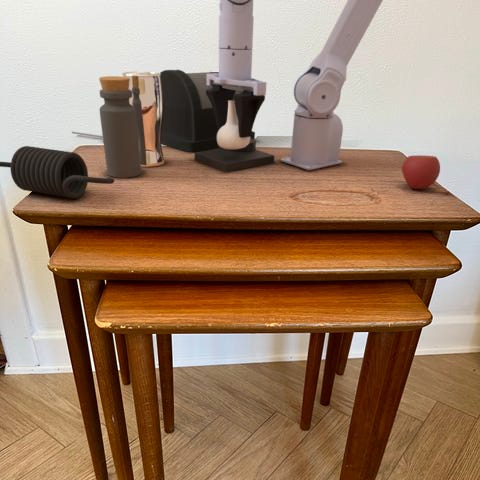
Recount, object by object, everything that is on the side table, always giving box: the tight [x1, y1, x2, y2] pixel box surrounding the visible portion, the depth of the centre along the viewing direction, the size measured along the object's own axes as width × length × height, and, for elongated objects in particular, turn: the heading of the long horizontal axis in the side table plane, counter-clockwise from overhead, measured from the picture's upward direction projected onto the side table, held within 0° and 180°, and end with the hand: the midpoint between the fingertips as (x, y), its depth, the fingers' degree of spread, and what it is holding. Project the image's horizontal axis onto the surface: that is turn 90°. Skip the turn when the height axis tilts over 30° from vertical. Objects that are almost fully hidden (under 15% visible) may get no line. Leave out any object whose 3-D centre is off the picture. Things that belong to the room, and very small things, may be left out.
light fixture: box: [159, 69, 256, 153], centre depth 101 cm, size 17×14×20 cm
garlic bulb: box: [217, 100, 250, 149], centre depth 84 cm, size 6×6×8 cm
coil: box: [0, 145, 115, 200], centre depth 69 cm, size 7×20×9 cm
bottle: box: [98, 75, 142, 179], centre depth 77 cm, size 6×6×15 cm
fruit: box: [401, 155, 449, 195], centre depth 77 cm, size 6×6×8 cm
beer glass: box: [121, 71, 165, 168], centre depth 83 cm, size 7×7×15 cm
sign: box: [71, 131, 103, 139], centre depth 102 cm, size 5×1×15 cm
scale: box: [194, 138, 275, 173], centre depth 90 cm, size 13×11×3 cm
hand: (233, 133), depth 85 cm, fingers closed on garlic bulb, 6 cm apart
